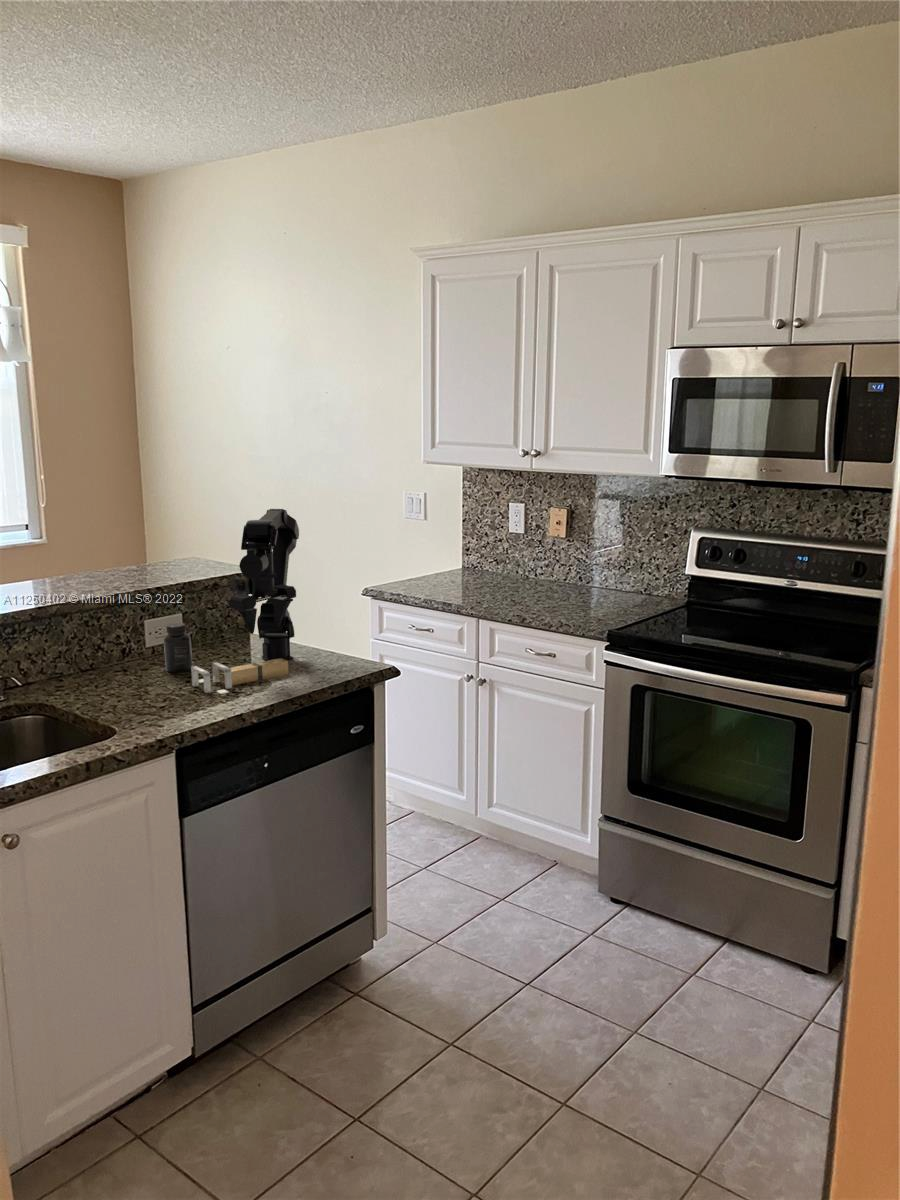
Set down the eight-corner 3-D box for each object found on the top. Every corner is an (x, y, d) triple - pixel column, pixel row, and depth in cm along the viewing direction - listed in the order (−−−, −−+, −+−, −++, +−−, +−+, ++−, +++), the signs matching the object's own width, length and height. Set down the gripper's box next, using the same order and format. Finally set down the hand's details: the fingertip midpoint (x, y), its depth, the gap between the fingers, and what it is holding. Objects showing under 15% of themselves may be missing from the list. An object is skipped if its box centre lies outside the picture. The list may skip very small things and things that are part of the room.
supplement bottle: (196, 666, 254) (194, 622, 251) (187, 673, 247) (184, 628, 245) (171, 665, 254) (168, 621, 252) (161, 672, 248) (158, 627, 245)
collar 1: (196, 684, 237) (195, 665, 236) (211, 692, 231) (209, 672, 230) (192, 685, 236) (191, 666, 235) (206, 693, 230) (205, 673, 229)
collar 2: (217, 680, 241) (216, 661, 240) (232, 688, 234) (231, 668, 233) (213, 681, 240) (211, 662, 239) (227, 689, 234) (226, 669, 233)
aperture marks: (203, 679, 241) (203, 678, 241) (228, 692, 231) (228, 691, 231) (195, 681, 240) (195, 680, 240) (221, 694, 229) (221, 693, 229)
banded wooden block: (281, 671, 249) (281, 657, 249) (288, 674, 247) (288, 660, 246) (224, 682, 239) (224, 668, 239) (231, 685, 237) (230, 671, 236)
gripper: (265, 561, 255) (268, 618, 259) (211, 572, 240) (215, 632, 244) (296, 565, 249) (298, 624, 252) (243, 577, 234) (246, 639, 237)
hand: (264, 629), depth 247 cm, fingers open, 9 cm apart
